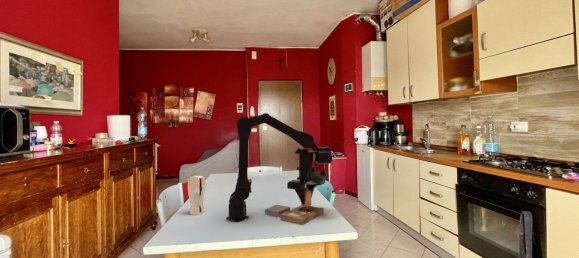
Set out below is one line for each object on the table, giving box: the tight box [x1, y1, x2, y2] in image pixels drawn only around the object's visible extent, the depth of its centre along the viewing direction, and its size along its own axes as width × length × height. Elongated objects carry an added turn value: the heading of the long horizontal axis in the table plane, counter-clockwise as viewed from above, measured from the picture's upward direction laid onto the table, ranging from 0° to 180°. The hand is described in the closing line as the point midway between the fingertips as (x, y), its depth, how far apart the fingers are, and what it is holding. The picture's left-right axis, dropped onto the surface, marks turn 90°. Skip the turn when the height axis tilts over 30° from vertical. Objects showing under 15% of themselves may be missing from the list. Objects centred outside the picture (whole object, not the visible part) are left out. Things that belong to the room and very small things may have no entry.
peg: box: [300, 190, 312, 207], centre depth 113 cm, size 4×4×6 cm
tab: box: [264, 204, 291, 218], centre depth 115 cm, size 8×7×2 cm
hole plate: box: [279, 205, 324, 226], centre depth 110 cm, size 16×10×2 cm, turn 145°
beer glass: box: [187, 175, 206, 215], centre depth 117 cm, size 7×7×15 cm
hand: (306, 202), depth 113 cm, fingers closed on peg, 4 cm apart
